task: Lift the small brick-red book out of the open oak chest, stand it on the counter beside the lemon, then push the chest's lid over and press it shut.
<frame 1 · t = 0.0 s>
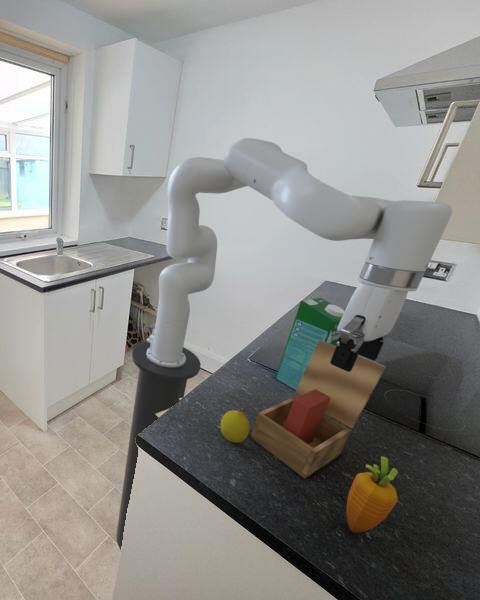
hand: (353, 361, 59), 22 cm above the counter, tool pointing down, fingers open, 9 cm apart
lid: (335, 382, 67), point 14 cm above the counter, hinge at 100.0°
lemon: (230, 441, 69), on the counter
book: (295, 442, 68), point 1 cm above the counter, touching chest
milk carton: (299, 384, 91), on the counter
carrot: (351, 531, 52), on the counter
chest: (294, 445, 68), on the counter
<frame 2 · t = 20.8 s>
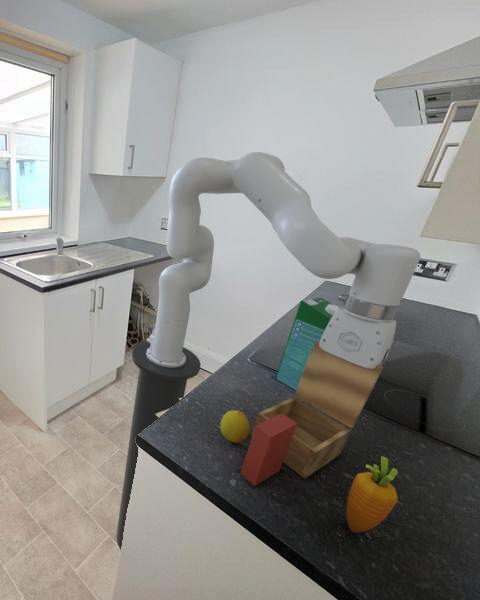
hand: (337, 385, 68), 13 cm above the counter, tool pointing down, fingers closed
lid: (334, 382, 66), point 14 cm above the counter, hinge at 94.6°, touching gripper
book: (260, 472, 61), on the counter
everything else where it was.
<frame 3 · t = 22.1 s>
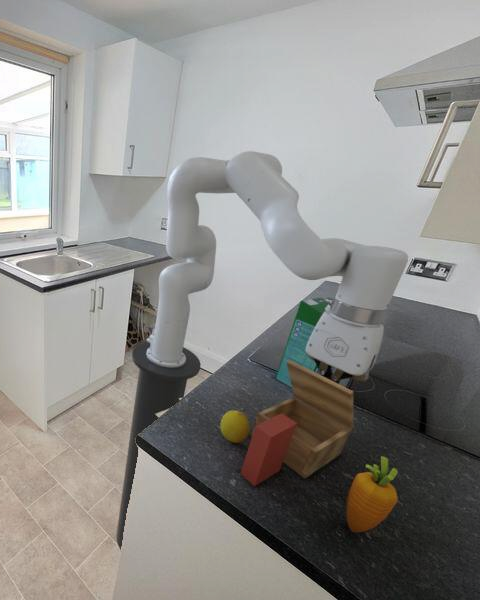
hand: (324, 391, 66), 13 cm above the counter, tool pointing down, fingers closed
lid: (319, 394, 65), point 13 cm above the counter, hinge at 53.2°, touching gripper
everything else where it was.
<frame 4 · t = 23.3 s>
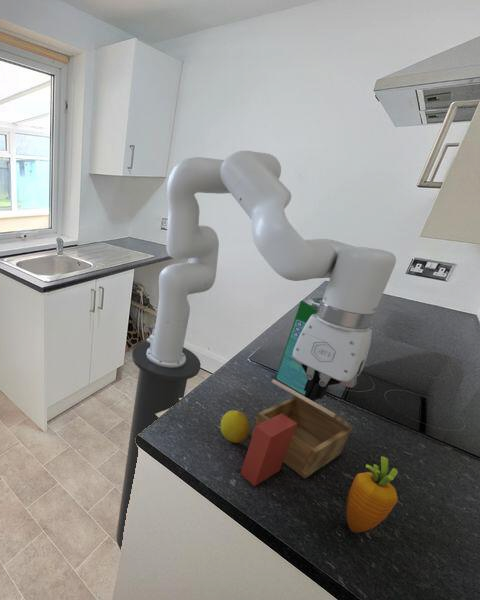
hand: (312, 397, 63), 13 cm above the counter, tool pointing down, fingers closed
lid: (311, 403, 65), point 11 cm above the counter, hinge at 32.0°
everything else where it was.
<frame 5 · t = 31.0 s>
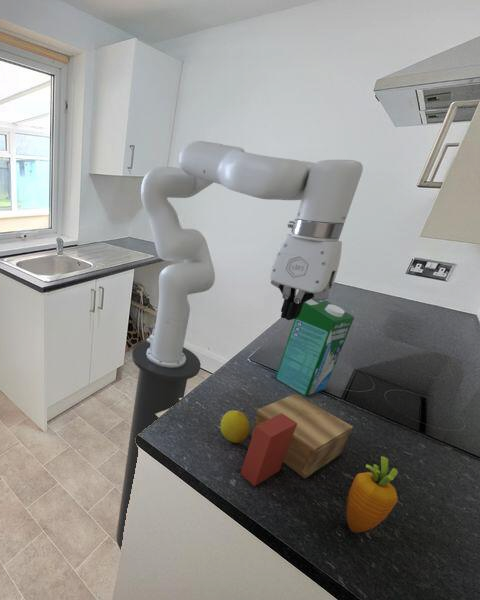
hand: (288, 317, 66), 27 cm above the counter, tool pointing down, fingers closed
lid: (303, 419, 65), point 7 cm above the counter, hinge at 1.4°
everything else where it was.
at the end: book inside the target area (0.0 cm from its centre), on the counter; book tilted 0°; lid at +1° (first picture: +100°) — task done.
